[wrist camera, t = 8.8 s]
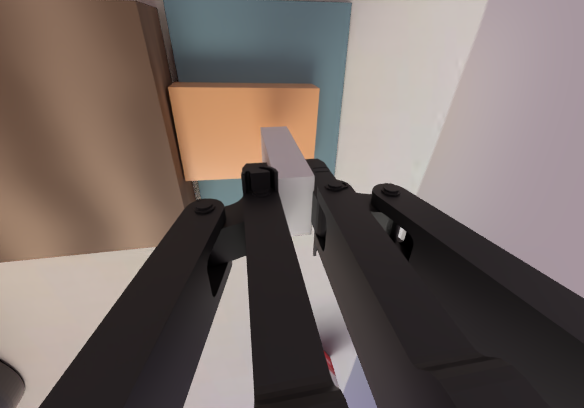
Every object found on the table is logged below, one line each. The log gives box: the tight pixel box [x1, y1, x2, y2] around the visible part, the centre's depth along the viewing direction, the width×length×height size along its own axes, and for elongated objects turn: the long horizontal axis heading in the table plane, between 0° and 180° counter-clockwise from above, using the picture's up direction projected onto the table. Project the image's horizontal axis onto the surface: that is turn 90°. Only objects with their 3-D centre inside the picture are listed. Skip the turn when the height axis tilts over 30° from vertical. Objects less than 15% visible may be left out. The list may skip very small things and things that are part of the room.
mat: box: [163, 0, 352, 206], centre depth 20 cm, size 11×15×1 cm
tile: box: [168, 82, 320, 181], centre depth 19 cm, size 9×6×2 cm, turn 88°
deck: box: [0, 0, 196, 263], centre depth 17 cm, size 14×14×4 cm
